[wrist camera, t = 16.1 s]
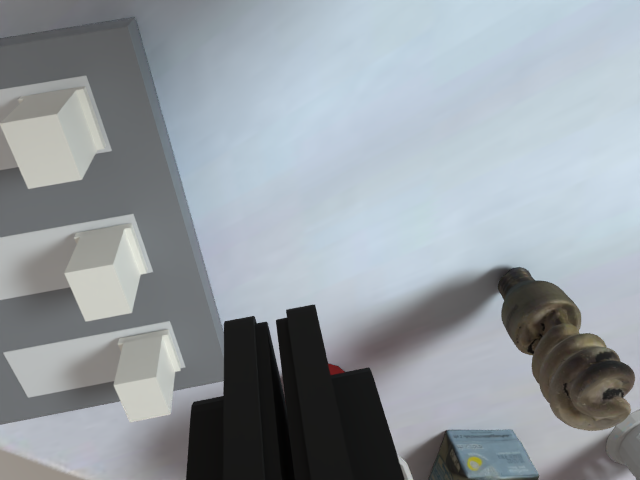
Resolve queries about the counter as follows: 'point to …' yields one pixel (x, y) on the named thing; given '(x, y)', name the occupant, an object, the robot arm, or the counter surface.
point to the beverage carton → (482, 457)
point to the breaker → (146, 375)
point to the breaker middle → (106, 271)
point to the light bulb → (565, 354)
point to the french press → (626, 443)
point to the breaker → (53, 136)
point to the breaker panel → (90, 214)
